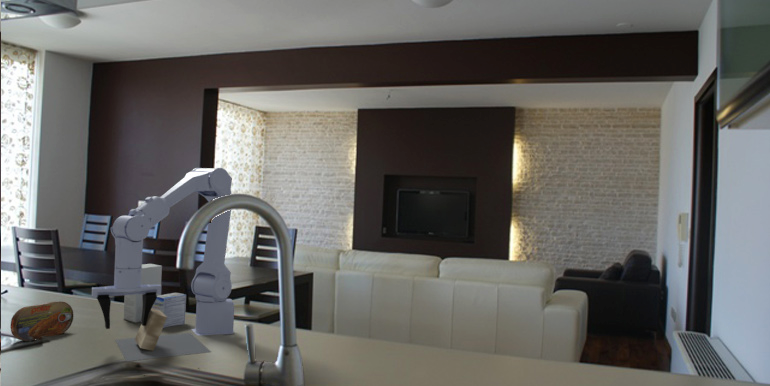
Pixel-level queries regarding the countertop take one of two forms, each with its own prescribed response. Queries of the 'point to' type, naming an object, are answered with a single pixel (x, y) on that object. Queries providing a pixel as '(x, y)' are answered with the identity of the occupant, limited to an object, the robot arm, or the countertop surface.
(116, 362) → the countertop surface
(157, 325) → the tan flat block
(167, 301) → the medicine box
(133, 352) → the mat
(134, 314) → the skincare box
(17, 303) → the countertop surface
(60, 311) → the tin
